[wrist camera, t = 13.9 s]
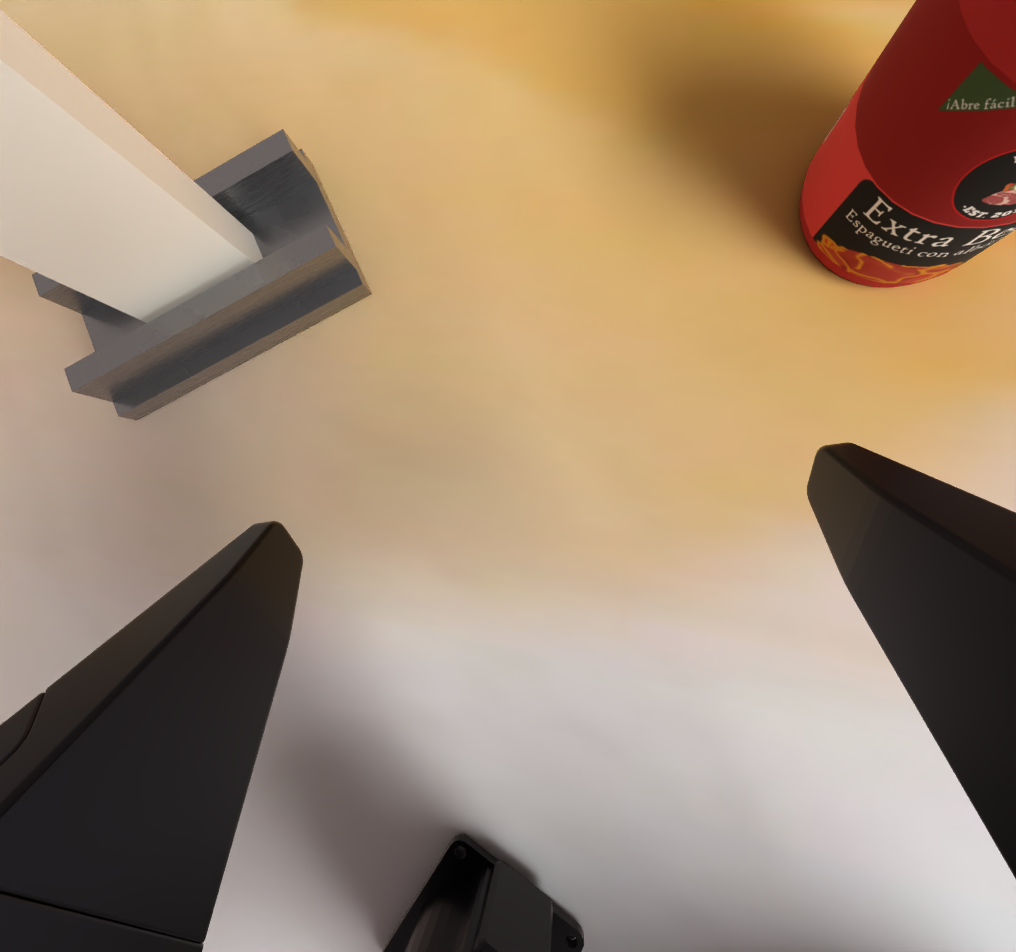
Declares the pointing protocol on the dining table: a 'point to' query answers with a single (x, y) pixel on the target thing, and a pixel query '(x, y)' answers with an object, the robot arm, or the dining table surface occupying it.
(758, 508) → the dining table surface
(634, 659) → the dining table surface
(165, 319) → the bottom track
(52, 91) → the door panel
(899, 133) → the canned food
